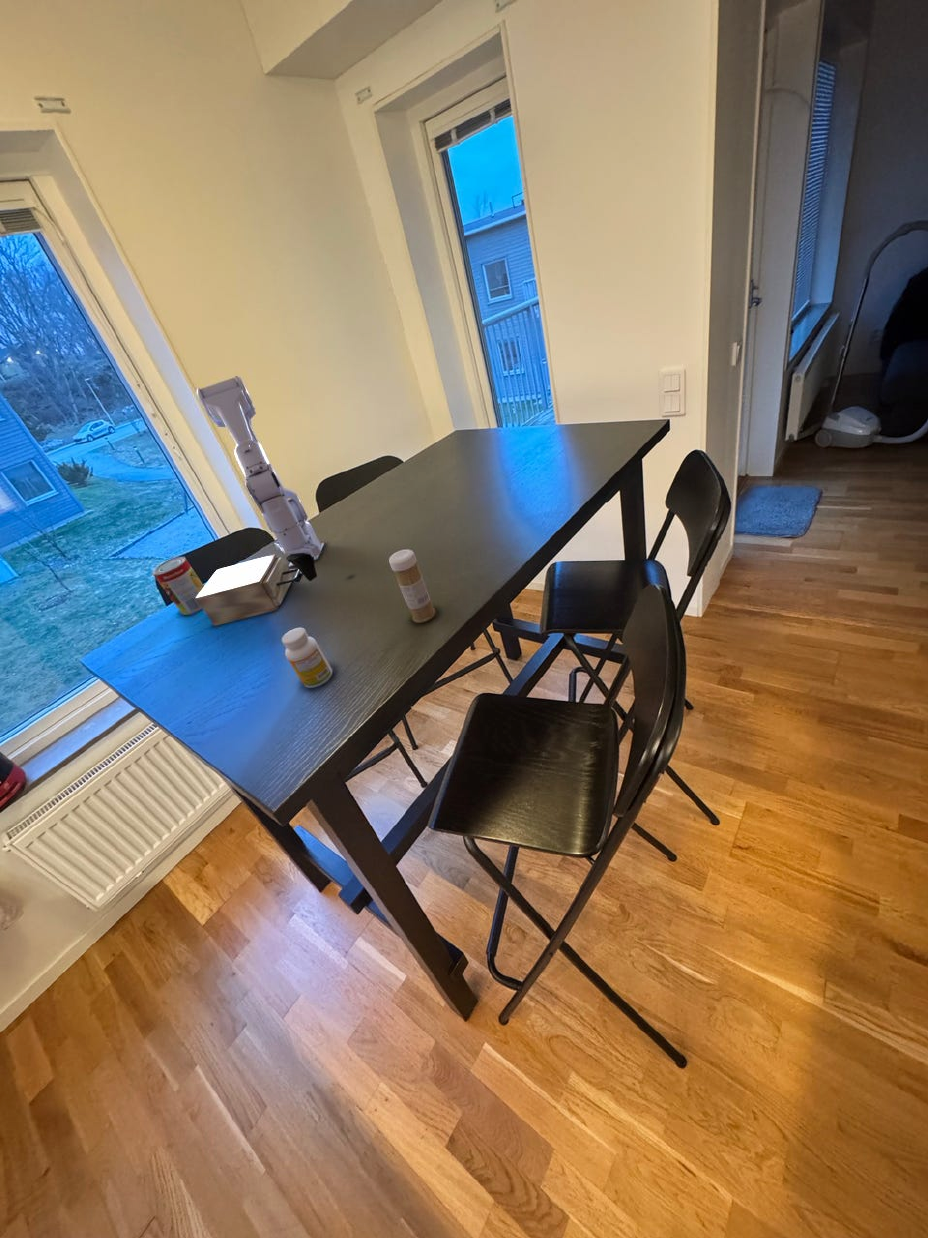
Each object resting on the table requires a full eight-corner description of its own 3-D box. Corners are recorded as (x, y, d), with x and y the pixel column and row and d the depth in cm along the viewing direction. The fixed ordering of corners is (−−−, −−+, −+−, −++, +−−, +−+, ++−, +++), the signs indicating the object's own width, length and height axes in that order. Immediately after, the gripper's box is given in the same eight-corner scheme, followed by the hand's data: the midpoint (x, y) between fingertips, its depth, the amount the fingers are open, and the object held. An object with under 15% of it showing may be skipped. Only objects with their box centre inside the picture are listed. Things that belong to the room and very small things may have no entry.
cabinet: (290, 581, 120) (275, 553, 115) (276, 610, 109) (259, 581, 105) (234, 596, 122) (216, 569, 117) (214, 626, 111) (194, 598, 106)
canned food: (206, 593, 127) (179, 554, 121) (216, 600, 122) (189, 560, 115) (177, 610, 124) (148, 570, 117) (186, 618, 118) (156, 577, 112)
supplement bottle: (306, 671, 87) (281, 629, 81) (335, 663, 86) (311, 621, 81) (301, 692, 82) (273, 649, 77) (330, 684, 82) (305, 640, 77)
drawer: (314, 572, 118) (303, 550, 115) (303, 598, 108) (291, 575, 105) (239, 592, 120) (226, 571, 117) (222, 619, 111) (207, 597, 107)
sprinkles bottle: (430, 606, 94) (408, 545, 86) (439, 616, 90) (417, 553, 82) (409, 616, 93) (384, 556, 85) (417, 627, 89) (393, 565, 81)
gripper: (319, 519, 103) (344, 573, 110) (282, 515, 111) (308, 565, 119) (293, 536, 99) (321, 590, 106) (257, 530, 107) (285, 581, 115)
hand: (312, 578), depth 112 cm, fingers closed, pressing on drawer
